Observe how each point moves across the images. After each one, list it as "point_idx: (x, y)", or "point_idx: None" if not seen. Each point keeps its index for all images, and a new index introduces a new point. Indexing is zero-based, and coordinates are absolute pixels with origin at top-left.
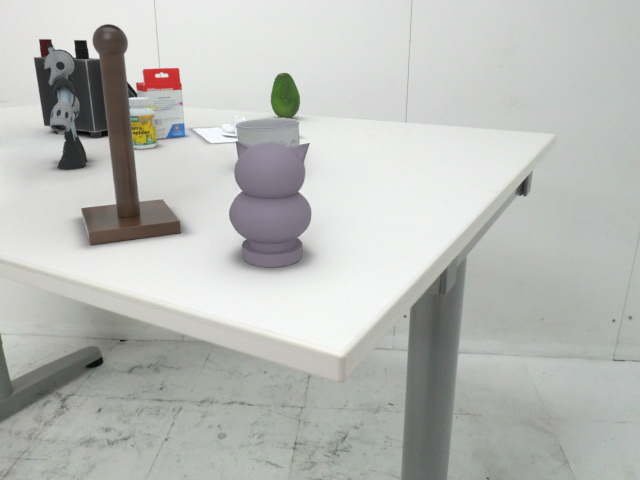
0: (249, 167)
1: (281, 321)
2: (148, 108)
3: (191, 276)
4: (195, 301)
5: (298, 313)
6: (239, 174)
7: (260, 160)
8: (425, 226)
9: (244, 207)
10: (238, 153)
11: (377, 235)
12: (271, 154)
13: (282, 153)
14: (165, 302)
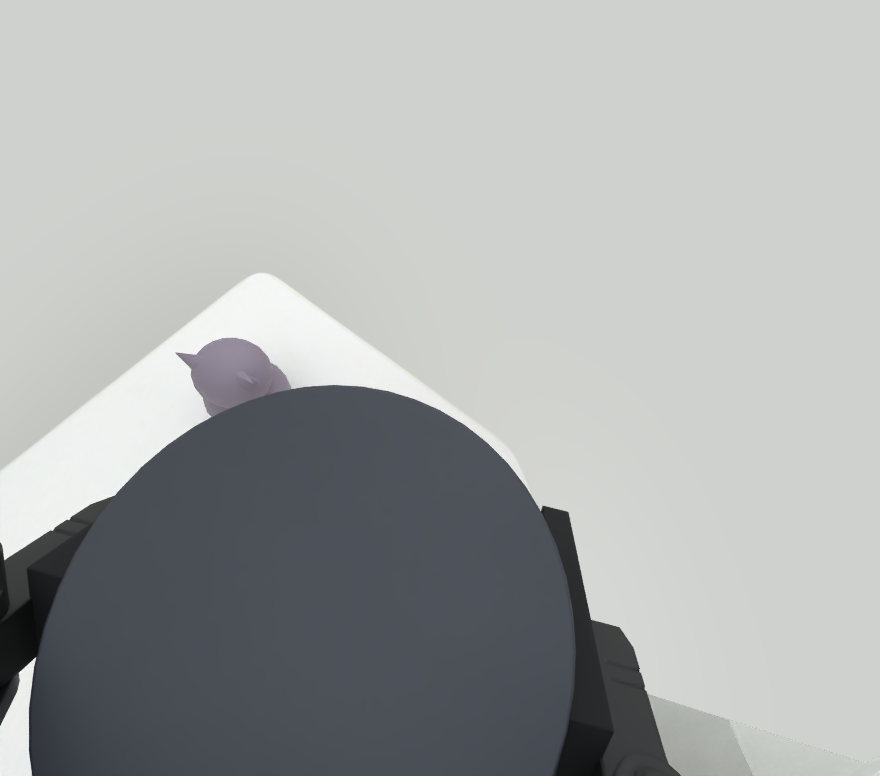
0: (256, 346)
1: (285, 303)
2: None
3: (340, 380)
4: (340, 338)
5: (270, 311)
6: (268, 359)
7: (243, 341)
8: (52, 475)
9: (274, 368)
10: (257, 380)
11: (127, 453)
12: (228, 340)
13: (215, 342)
14: (361, 339)
